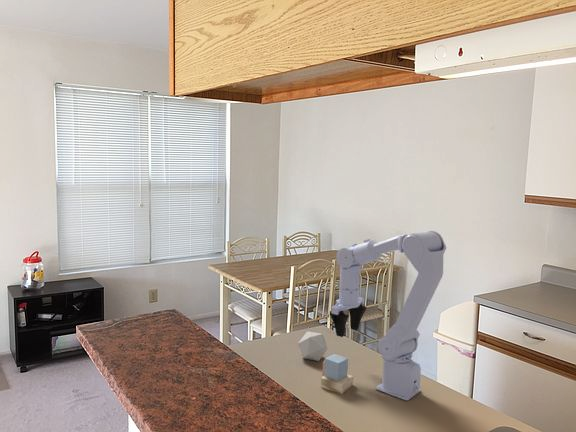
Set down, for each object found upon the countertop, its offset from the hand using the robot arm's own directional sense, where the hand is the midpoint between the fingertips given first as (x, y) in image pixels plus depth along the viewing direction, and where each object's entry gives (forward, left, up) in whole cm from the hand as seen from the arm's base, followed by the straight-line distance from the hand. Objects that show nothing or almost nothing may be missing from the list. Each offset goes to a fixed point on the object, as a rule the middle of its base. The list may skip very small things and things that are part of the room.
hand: (347, 332), depth 143 cm
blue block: (-5, +12, -8) cm, 15 cm away
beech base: (-5, +12, -11) cm, 17 cm away
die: (+11, +2, -11) cm, 15 cm away
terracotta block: (0, +7, -10) cm, 13 cm away
